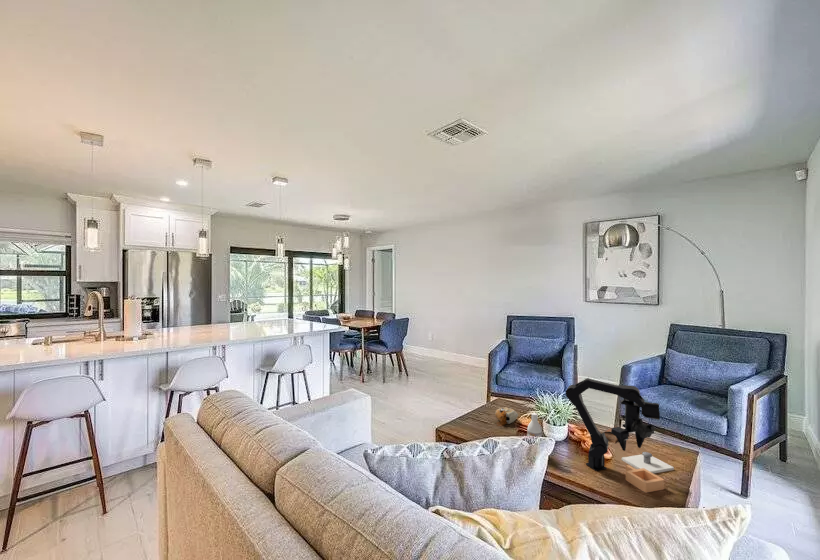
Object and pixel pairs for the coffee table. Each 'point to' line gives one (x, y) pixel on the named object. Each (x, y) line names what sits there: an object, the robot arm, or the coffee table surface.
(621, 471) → the coffee table surface
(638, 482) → the orange link
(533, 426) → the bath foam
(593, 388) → the robot arm
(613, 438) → the sunglasses case
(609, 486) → the coffee table surface
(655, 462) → the board
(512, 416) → the nautilus
